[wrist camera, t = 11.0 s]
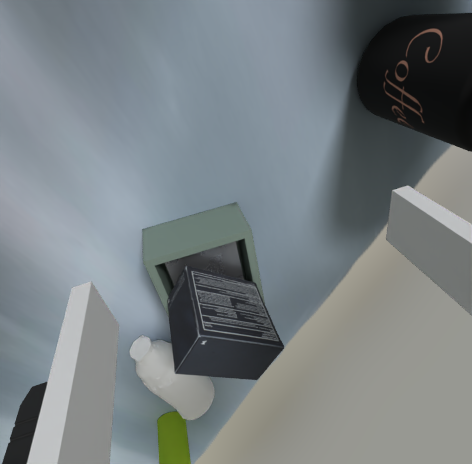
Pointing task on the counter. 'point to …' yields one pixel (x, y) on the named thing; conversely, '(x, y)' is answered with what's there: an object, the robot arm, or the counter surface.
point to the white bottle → (171, 378)
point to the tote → (198, 244)
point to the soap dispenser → (173, 439)
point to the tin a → (209, 262)
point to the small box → (220, 326)
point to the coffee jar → (422, 75)
